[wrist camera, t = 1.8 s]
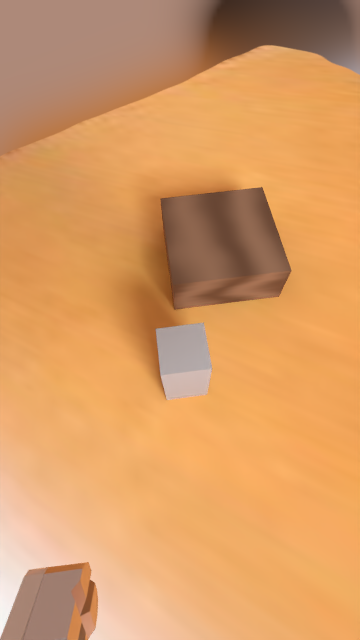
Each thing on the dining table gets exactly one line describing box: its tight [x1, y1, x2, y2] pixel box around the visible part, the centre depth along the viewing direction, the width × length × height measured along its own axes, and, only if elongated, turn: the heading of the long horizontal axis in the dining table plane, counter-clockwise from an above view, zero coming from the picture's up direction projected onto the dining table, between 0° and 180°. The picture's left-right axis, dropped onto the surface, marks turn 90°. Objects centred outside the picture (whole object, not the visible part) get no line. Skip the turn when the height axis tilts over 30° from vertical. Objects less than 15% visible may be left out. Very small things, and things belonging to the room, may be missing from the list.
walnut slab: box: [161, 187, 291, 309], centre depth 37 cm, size 12×12×5 cm
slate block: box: [156, 323, 212, 400], centre depth 29 cm, size 4×4×8 cm
